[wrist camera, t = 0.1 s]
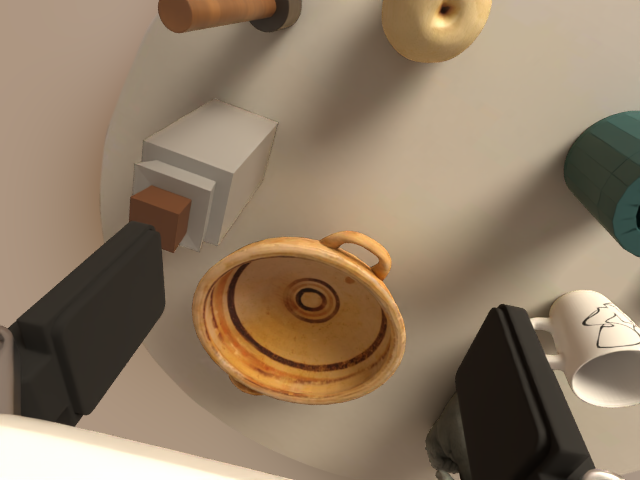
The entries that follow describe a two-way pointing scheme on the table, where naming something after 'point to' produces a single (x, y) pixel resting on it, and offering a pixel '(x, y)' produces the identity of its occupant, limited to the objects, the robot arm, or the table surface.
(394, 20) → the apple
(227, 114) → the perfume bottle
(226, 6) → the brush
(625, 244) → the teal hollow cylinder
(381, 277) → the ceramic bowl
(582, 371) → the mug
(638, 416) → the table surface
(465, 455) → the stuffed elephant
